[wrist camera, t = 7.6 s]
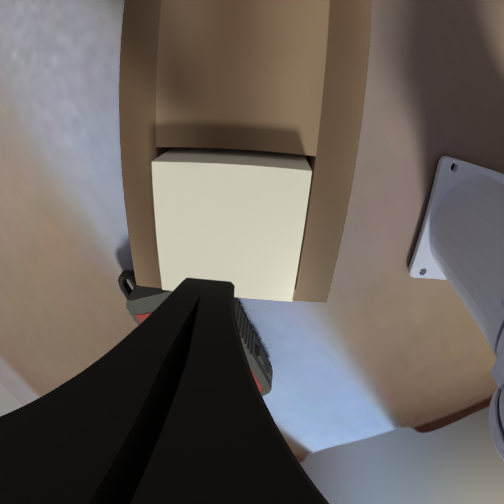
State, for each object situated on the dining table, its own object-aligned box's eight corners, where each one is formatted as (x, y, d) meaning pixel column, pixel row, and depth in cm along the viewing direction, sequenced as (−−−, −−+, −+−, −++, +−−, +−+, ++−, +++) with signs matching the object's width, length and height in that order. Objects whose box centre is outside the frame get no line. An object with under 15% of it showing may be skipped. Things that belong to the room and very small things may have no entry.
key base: (347, -128, 5) (359, -154, 2) (318, 265, 19) (326, 302, 15) (180, -133, 5) (166, -158, 2) (156, 252, 19) (136, 285, 16)
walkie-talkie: (104, 270, 20) (216, 419, 29) (75, 308, 16) (210, 454, 25) (214, 234, 18) (297, 409, 27) (199, 276, 14) (298, 447, 24)
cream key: (303, 154, 13) (311, 171, 11) (289, 266, 16) (292, 301, 14) (173, 146, 14) (151, 161, 11) (178, 256, 17) (162, 289, 14)
